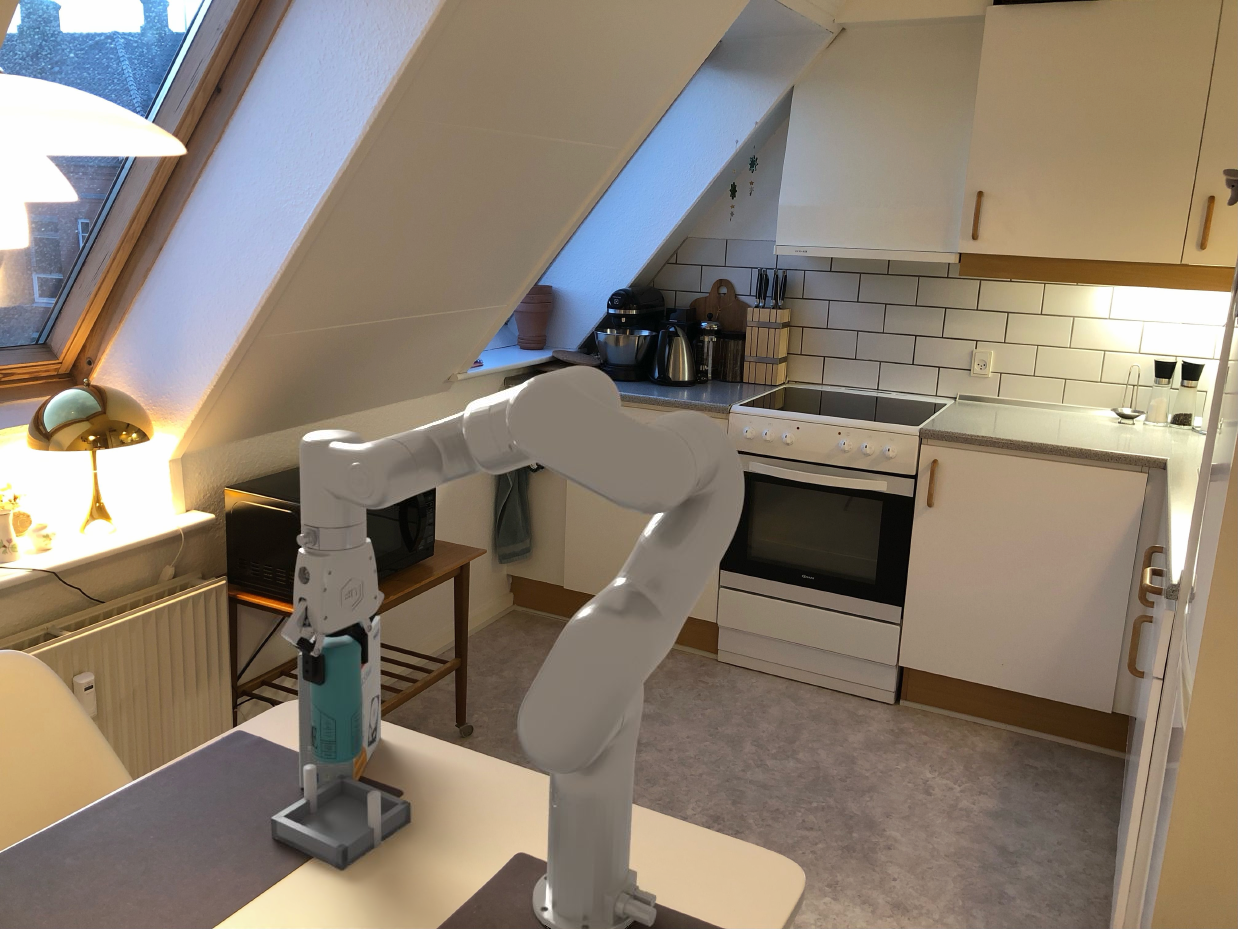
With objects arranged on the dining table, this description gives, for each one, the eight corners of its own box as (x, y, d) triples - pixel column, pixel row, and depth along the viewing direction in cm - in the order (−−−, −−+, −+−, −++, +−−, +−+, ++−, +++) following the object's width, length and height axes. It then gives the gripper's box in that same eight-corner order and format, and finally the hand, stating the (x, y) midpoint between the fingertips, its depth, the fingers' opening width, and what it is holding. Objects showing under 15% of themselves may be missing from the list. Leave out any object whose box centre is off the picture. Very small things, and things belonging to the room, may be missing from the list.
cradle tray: (412, 822, 129) (411, 774, 128) (343, 871, 119) (342, 820, 117) (341, 792, 135) (339, 746, 134) (270, 836, 125) (267, 787, 123)
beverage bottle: (374, 762, 125) (373, 615, 121) (327, 782, 121) (325, 629, 116) (346, 743, 130) (344, 600, 125) (300, 760, 125) (296, 613, 120)
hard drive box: (354, 792, 136) (351, 658, 131) (298, 790, 136) (293, 655, 131) (382, 736, 151) (381, 614, 146) (333, 734, 151) (329, 611, 146)
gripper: (300, 559, 109) (303, 707, 113) (407, 523, 124) (406, 655, 128) (253, 545, 112) (258, 689, 117) (363, 512, 127) (364, 641, 131)
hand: (336, 670), depth 122 cm, fingers closed on beverage bottle, 6 cm apart
